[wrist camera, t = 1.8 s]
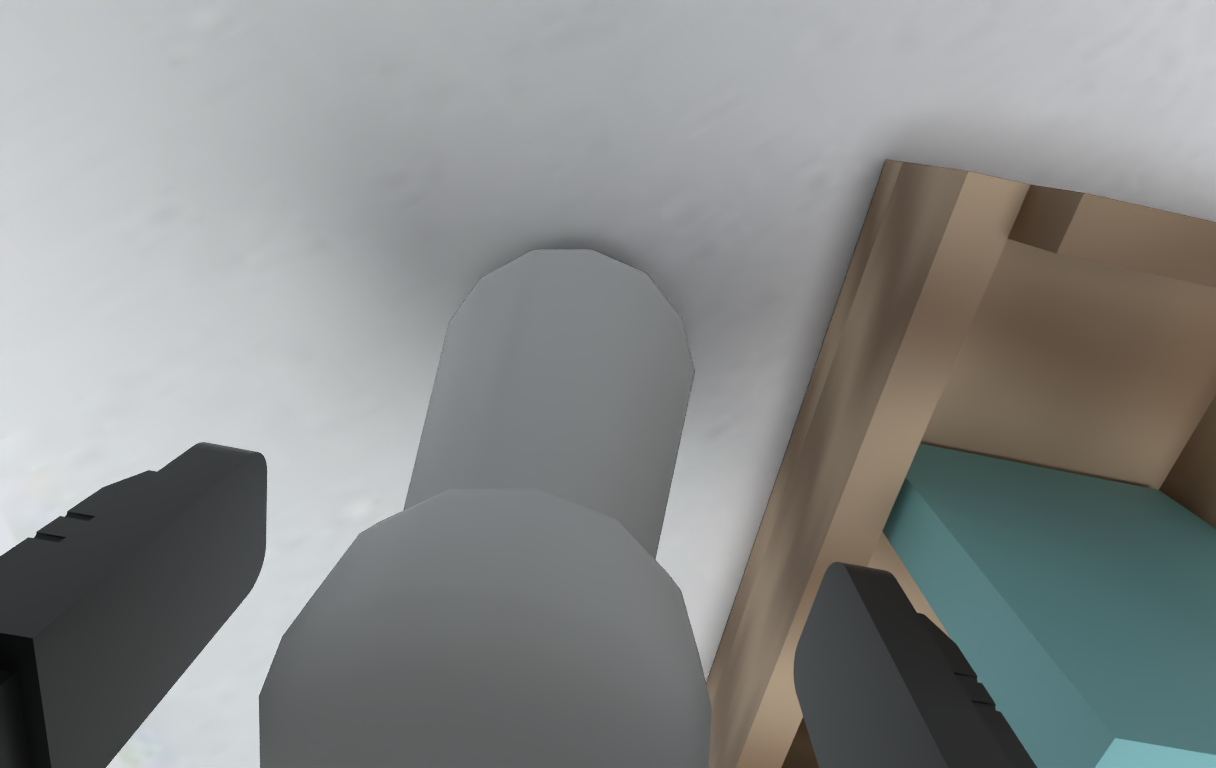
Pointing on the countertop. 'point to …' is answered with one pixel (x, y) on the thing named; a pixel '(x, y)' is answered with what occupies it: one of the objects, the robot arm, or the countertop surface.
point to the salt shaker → (516, 553)
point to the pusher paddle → (1070, 605)
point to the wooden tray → (971, 396)
